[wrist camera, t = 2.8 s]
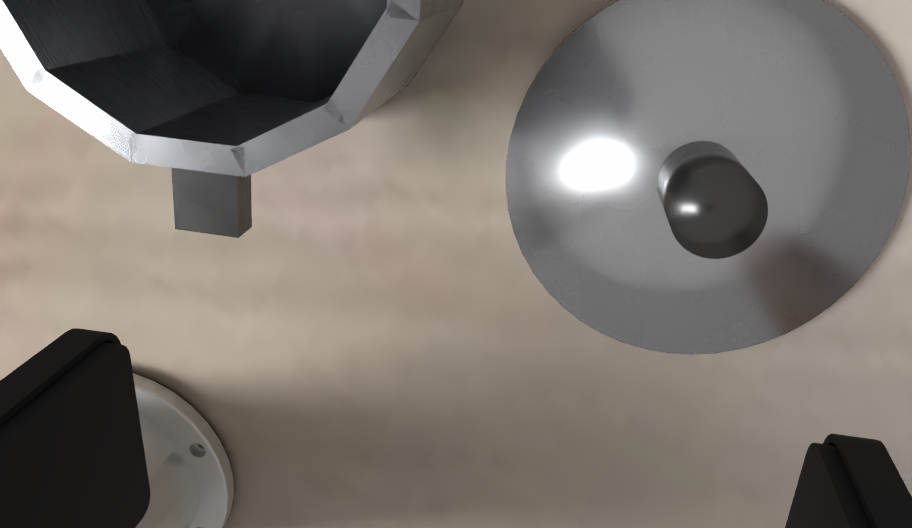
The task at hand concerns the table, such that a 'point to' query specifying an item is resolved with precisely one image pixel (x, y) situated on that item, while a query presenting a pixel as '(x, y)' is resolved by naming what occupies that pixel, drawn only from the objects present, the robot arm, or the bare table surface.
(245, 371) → the table surface
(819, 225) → the lid
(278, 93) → the pot
